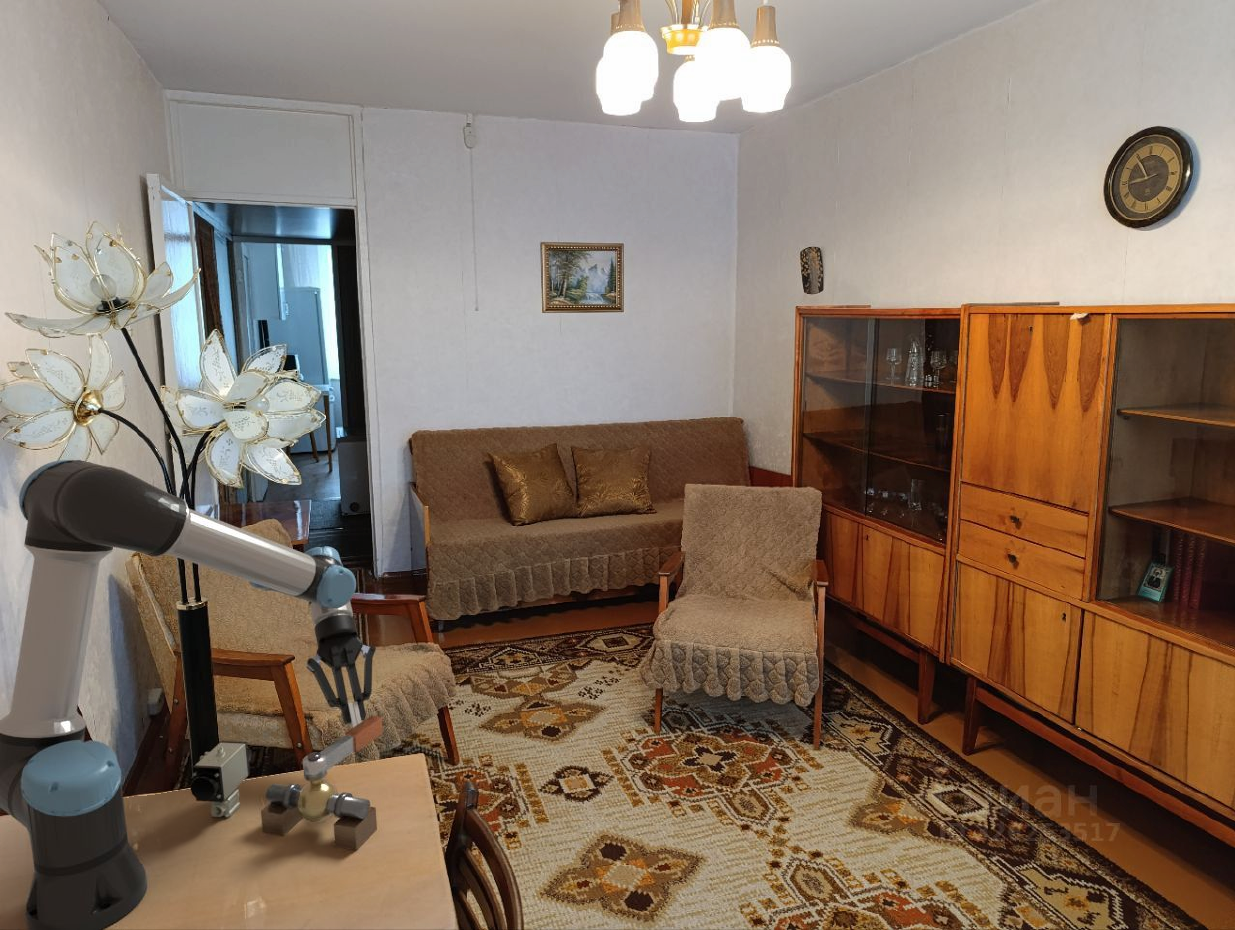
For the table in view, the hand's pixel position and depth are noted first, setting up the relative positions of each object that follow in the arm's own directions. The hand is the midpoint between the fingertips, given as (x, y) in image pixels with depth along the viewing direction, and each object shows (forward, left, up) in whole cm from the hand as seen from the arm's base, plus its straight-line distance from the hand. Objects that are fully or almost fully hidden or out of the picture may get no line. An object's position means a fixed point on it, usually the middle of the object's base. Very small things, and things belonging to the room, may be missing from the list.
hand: (359, 738), depth 154 cm
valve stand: (-5, -13, -9) cm, 17 cm away
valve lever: (-1, -7, +1) cm, 7 cm away
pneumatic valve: (-23, -5, -10) cm, 25 cm away
